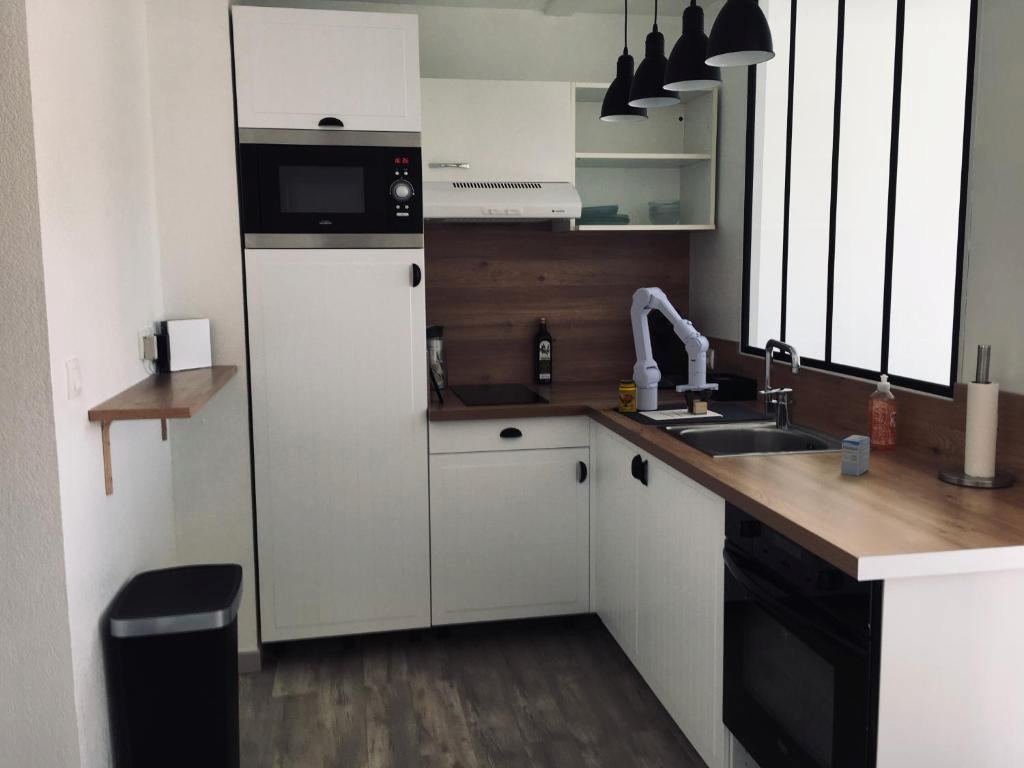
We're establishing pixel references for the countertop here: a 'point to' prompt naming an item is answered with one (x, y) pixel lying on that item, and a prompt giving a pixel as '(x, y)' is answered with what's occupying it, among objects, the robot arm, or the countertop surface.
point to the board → (675, 414)
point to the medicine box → (855, 455)
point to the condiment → (627, 396)
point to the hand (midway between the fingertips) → (697, 411)
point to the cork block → (699, 408)
